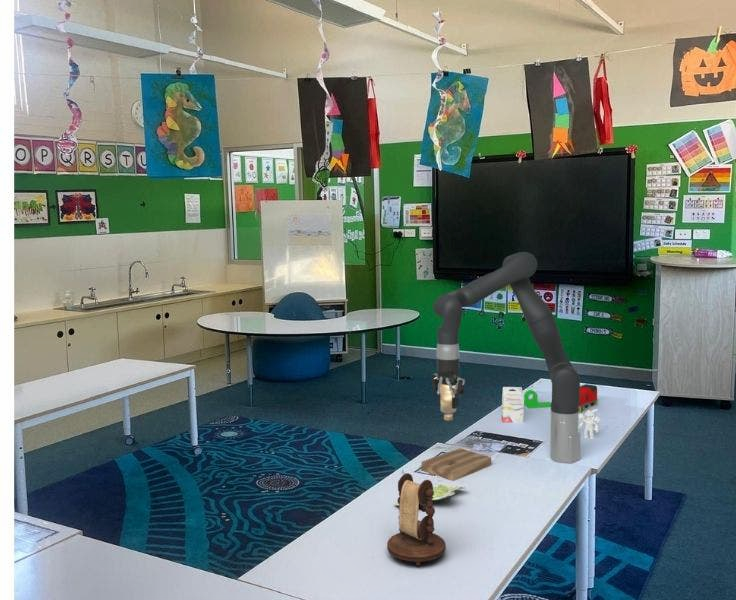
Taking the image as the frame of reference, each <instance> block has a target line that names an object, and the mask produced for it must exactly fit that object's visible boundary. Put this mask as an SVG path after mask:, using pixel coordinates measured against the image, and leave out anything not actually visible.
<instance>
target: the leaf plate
mask: <svg viewBox="0 0 736 600" xmlns="http://www.w3.org/2000/svg"><path fill="white" fill-rule="evenodd" d="M459 489H463V490H464V489H466V486H465V485H463V486H461V487H460V486H453V487H452V486H447V485H445V484H444V483H440V484H438V486H433V491H434V495H433V496H432V497H433V499H432V501H439V500H444V499H447V498H449V497H451V496H455V495H456V492H455V491H457V490H459ZM393 505H394V506H398V507H400V506H399V504H398V502H395V503H394V504H393Z"/></svg>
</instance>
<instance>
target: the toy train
mask: <svg viewBox="0 0 736 600" xmlns="http://www.w3.org/2000/svg"><path fill="white" fill-rule="evenodd" d="M598 403H599V399H598V386H597V385H594V384H588V383H587V384H583V385H580V400H579V407H578V414H582V411H586V410H589V408H591V406H596V405H598Z"/></svg>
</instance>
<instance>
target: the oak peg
mask: <svg viewBox="0 0 736 600" xmlns="http://www.w3.org/2000/svg"><path fill="white" fill-rule="evenodd" d="M455 387H456V385H454V386H452V388H455ZM454 392H455V390H454ZM452 398H453V397H452V394H451V391H449V386H448V385H444V384H440V399H441V406H440V408H439V409H440V412H441V413H442V414H443V420H444V421H447V422H449V421H450V422H451V421H453V420H454V414H455V413H457V408H455V409H453V408H452Z"/></svg>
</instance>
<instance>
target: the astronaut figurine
mask: <svg viewBox="0 0 736 600" xmlns="http://www.w3.org/2000/svg"><path fill="white" fill-rule="evenodd" d="M597 411H598V408H596V409H592V410H589V409H587V411H586V412H585V413H584V414H583V413H578V421H580V424H578V430H580V429H581V428H582V427H583V425H585V427H584V432H583V438H585V439H586V438H589V439H590V440H593V439H595V436H594V431H595V434H598V433H599V424H601V422H602V418H600V417H599V416H595V413H596V412H597ZM598 423H599V424H598Z"/></svg>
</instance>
